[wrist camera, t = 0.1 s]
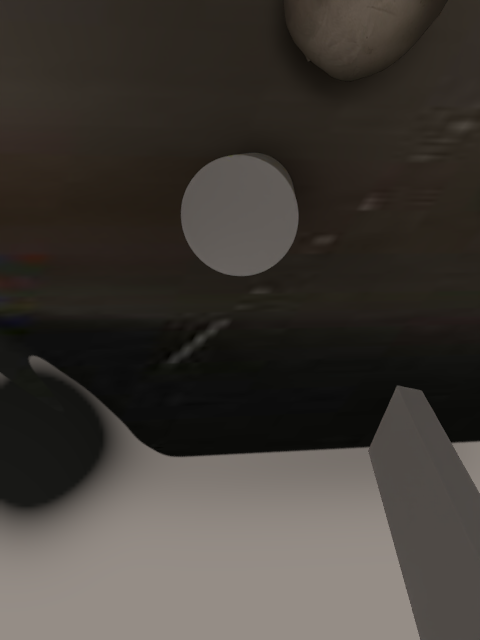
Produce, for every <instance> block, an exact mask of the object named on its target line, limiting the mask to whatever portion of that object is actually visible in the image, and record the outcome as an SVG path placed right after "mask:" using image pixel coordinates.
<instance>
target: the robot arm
mask: <svg viewBox="0 0 480 640" xmlns="http://www.w3.org/2000/svg"><path fill="white" fill-rule="evenodd" d="M369 455H370V458H371V462H372V466H373V469H374V473H375V477H376V480H377V484H378V488H379V491H380V495H381V498H382V502H383V506H384V509H385V513H386V517H387V520H388V524H389V527H390V531H391V534H392V538H393V542H394V545H395V549H396V553H397V556H398V560H399V564H400V567H401V571H402V575H403V578H404V582H405V585H406V589H407V593H408V596H409V600H410V604H411V607H412V611H413V614H414V618H415V622H416V625H417V629H418V632H419V636H420V640H480V493H479V492H478V490H477V488H476V486H475V484H474V483H473V481H472V479H471V478H470V476H469V474H468V472H467V470H466V468H465V467H464V465H463V463H462V461H461V460H460V458H459V456H458V455H457V453H456V451H455V449H454V447H453V445H452V444H451V442H450V440H449V438H448V437H447V435H446V433H445V431H444V429H443V428H442V426H441V424H440V422H439V421H438V419H437V417H436V415H435V413H434V412H433V410H432V408H431V406H430V405H429V403H428V401H427V399H426V397H425V396H424V394H423V392H422V391H421V390H416V389H411V388H406V387H401V386H397V387H396V389H395V392H394V394H393V396H392V398H391V401H390V403H389V405H388V407H387V410H386V412H385V414H384V416H383V419H382V421H381V423H380V425H379V428H378V430H377V432H376V434H375V437H374V439H373V441H372V443H371V446H370V448H369Z"/></svg>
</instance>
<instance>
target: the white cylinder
mask: <svg viewBox="0 0 480 640" xmlns="http://www.w3.org/2000/svg"><path fill="white" fill-rule="evenodd" d="M181 222H182V228H183V232H184V235H185V238H186V240H187V242H188V244H189V246H190V247H191V249H192V250H193V252H194V253H195V254H196V256H197V257H198V258H199V259H200V260H201V261H203V262H204V263H205V264H206V265H208V266H209V267H211V268H212V269H214V270H216V271H219V272H221V273H224V274H228V275H234V276H248V275H254V274H257V273H260V272H263V271H265V270H267V269H269V268H271V267H272V266H274V265H275V264H276V263H278V262H279V261H280V260H281V259H282V258H283V257H284V255H285V254H286V253H287V252H288V250H289V248H290V247H291V245H292V243H293V241H294V238H295V235H296V232H297V227H298V206H297V201H296V196H295V192H294V187H293V183H292V180H291V178H290V176H289V174H288V172H287V170H286V169H285V168H284V167H283V165H282V164H280V163H279V162H278V161H277V160H275V159H274V158H272V157H270V156H268V155H265V154H262V153H244V154H237V155H231V156H226V157H222V158H219V159H216V160H214V161H212V162H210V163H209V164H207V165H206V166H204V167H203V168H202V169H201V170H200V171H199V172H198V173H197V174H196V175H195V176H194V177H193V179H192V180H191V182H190V183H189V185H188V187H187V189H186V191H185V194H184V197H183V201H182V206H181Z"/></svg>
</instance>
